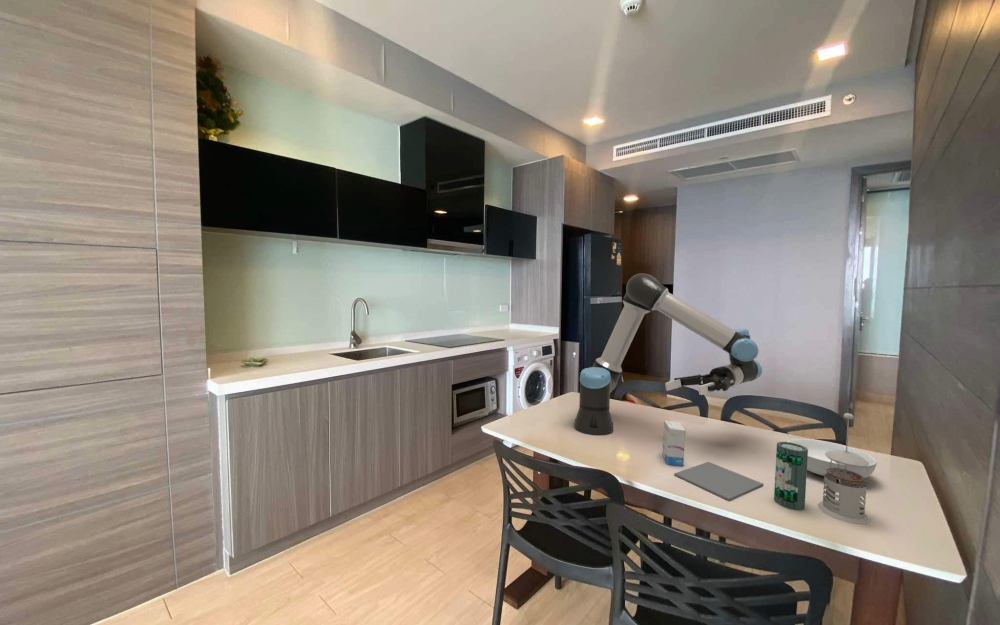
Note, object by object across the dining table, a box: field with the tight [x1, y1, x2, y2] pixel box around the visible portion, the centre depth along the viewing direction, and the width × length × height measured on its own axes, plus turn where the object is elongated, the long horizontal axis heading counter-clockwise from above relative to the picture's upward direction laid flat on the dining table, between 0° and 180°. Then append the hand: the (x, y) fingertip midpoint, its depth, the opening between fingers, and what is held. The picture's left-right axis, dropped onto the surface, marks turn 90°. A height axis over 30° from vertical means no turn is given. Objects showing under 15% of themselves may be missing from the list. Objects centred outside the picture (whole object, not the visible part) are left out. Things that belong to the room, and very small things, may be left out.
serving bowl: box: [786, 438, 878, 480], centre depth 117 cm, size 21×21×7 cm
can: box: [773, 441, 808, 511], centre depth 99 cm, size 6×6×15 cm
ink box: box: [661, 420, 686, 467], centre depth 123 cm, size 9×5×12 cm, turn 168°
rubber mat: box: [674, 461, 764, 502], centre depth 110 cm, size 16×17×1 cm
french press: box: [817, 412, 871, 525], centre depth 95 cm, size 10×12×25 cm
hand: (682, 388), depth 129 cm, fingers open, 13 cm apart
